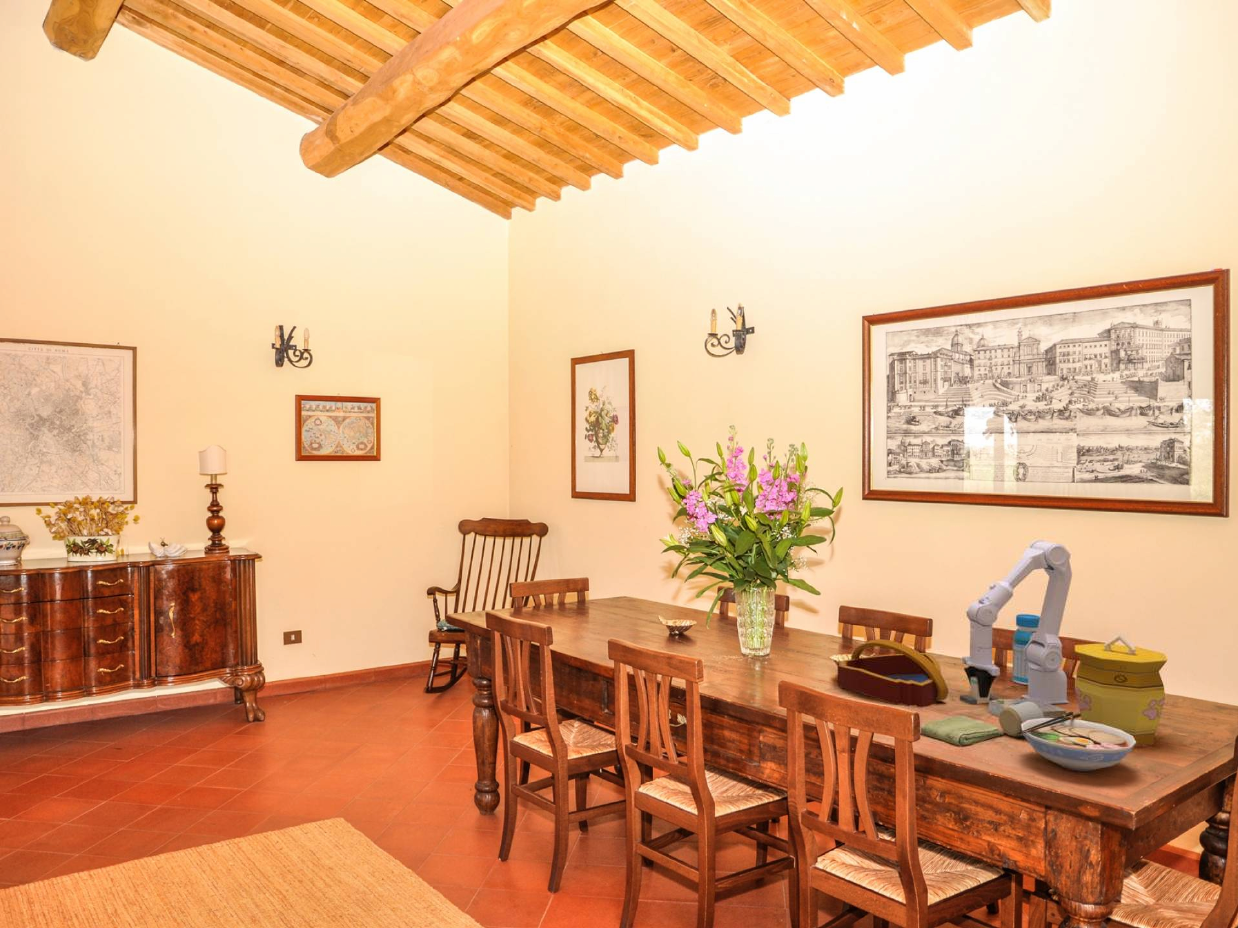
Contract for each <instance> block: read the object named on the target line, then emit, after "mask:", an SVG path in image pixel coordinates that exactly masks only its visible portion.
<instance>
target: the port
mask: <svg viewBox="0 0 1238 928" xmlns="http://www.w3.org/2000/svg"><path fill="white" fill-rule="evenodd" d="M1023 702H1033V703H1035V704H1036V705H1037V706H1038V707H1039V708H1040V709H1041V711H1042V712H1043V715H1044V718H1056V717H1058V716H1061V715H1063V714H1066V713H1067V710H1066V709H1063V708H1061V707H1059V706H1056V705H1054V704H1049V703H1047V702H1044V701H1042V700H1039V699H1037V698H1008V699H1005V698H1004V699H1002V698H999V699H996V700H989V703H988V713H989V714H991V715H994V716H995V717H997V718H999V715H1000V712H1001V711H1002V709H1004V708H1006V707H1008V706H1011V705H1016V704H1020V703H1023ZM1065 718H1066V717H1065Z"/></svg>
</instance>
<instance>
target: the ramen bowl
mask: <svg viewBox="0 0 1238 928" xmlns="http://www.w3.org/2000/svg"><path fill="white" fill-rule="evenodd" d="M1065 717H1066V718H1065ZM1077 718H1081V714H1080V712H1077V713H1075V714H1074V711H1069V712H1066V714H1063V715H1061V716H1058V717H1056V718H1039V719H1032V720H1027V721H1026V722H1024V723H1022V724H1021V727H1022V731H1021V732H1019V733H1020V734H1023V733H1024V735H1025V736H1024V738H1026V740H1027V742H1028V744H1029V745H1030V746H1031V747H1032V749H1033V750H1034V751H1035V752H1036V753H1038V754H1040V756H1042V757H1043V758H1045V759H1047V760H1048V761H1051V762H1052V763H1056V764H1057V765H1058V766H1059V767H1062V768H1064V769H1067V768H1068V769H1067V770H1071V771H1075V770H1078V771H1077V772H1092V771H1095V770H1098V769H1103V768H1109V767H1112V766H1115V765H1117V764H1119V763H1120V762H1121V761H1122V760H1123V759H1124V758H1125V757H1127V756H1128V755H1129V753H1130V752H1131V750H1133V749H1134V748H1135V747H1134V745H1135V744H1136V741H1135V739H1134V737H1133V736H1132V735H1130V734H1128V733H1126V732H1124V731H1122V730H1119V729H1116V728H1113V727H1110V726H1106V725H1103V724H1098V723H1093V722H1088V721H1083V720H1081V719H1077ZM1022 732H1023V733H1022ZM1019 733H1017V734H1019ZM1091 770H1092V771H1091Z"/></svg>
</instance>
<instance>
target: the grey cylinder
mask: <svg viewBox="0 0 1238 928" xmlns="http://www.w3.org/2000/svg"><path fill="white" fill-rule="evenodd" d="M1039 718H1044V715H1043V712H1042V711H1041V709H1040V708H1039V707H1038V706H1037V705H1036V704H1035V703H1033V702H1023V703H1020V704H1016V705H1011V706H1008V707H1006V708H1004V709H1002V711H1001V712H1000V715H999V717H998V723H999V725H1000V727H1001V730H1002V731H1003V732H1004V733H1005V734H1007V735H1009V736H1010V737H1017V738H1018V737H1025V735H1024V733H1023V732H1022V733H1023V734H1020V733H1019V732H1021V731H1022V727H1021V724H1022V723H1024V722H1026V721H1027V720H1032V719H1039ZM1017 733H1019V734H1017Z"/></svg>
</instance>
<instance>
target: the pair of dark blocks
mask: <svg viewBox="0 0 1238 928" xmlns="http://www.w3.org/2000/svg"><path fill="white" fill-rule="evenodd" d="M996 699H1000V698H999V697H997V696H995V695H992V694H990V700H996ZM959 701H962V702H964V703H966V704H968V705H978V703H977V700H976V699H974V698H972V697H970V695H967V694H963V695H960V696H959Z"/></svg>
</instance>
